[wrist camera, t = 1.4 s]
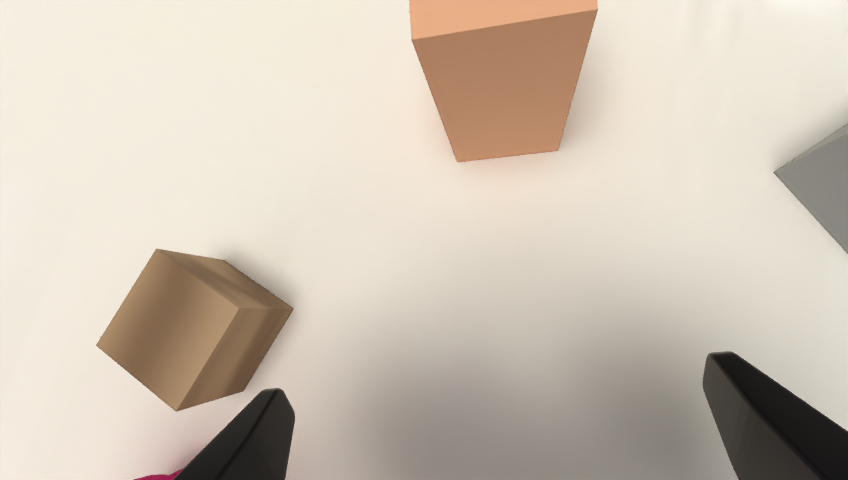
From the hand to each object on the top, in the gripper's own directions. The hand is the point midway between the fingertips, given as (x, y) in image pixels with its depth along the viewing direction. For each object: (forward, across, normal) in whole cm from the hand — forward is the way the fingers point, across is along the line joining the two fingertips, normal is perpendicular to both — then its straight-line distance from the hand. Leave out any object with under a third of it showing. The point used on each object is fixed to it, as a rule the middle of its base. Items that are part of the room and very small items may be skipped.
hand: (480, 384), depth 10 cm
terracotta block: (+17, -2, 0) cm, 17 cm away
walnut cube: (+11, +14, +7) cm, 19 cm away
